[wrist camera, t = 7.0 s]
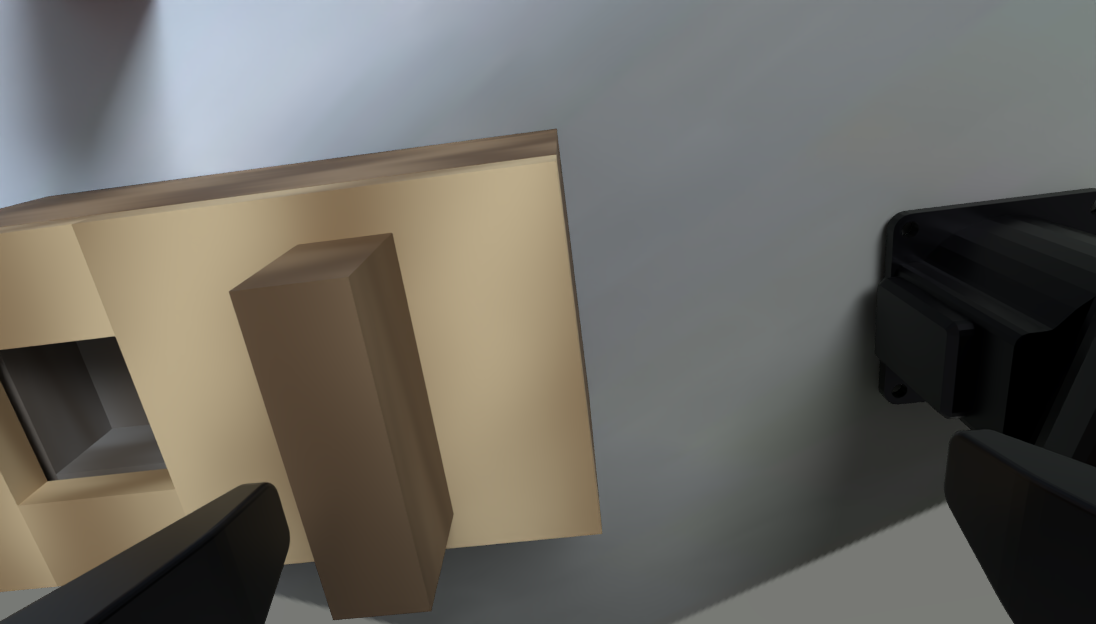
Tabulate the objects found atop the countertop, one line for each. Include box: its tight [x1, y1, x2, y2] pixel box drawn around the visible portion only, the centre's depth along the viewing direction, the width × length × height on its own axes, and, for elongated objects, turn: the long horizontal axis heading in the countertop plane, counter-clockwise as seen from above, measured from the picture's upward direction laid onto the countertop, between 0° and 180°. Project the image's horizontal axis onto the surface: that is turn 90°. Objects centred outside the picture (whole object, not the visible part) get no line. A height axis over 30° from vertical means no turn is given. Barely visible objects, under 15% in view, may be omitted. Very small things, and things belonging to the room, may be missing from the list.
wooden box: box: [0, 129, 599, 497], centre depth 19 cm, size 16×9×6 cm, turn 97°
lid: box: [0, 155, 602, 620], centre depth 14 cm, size 16×9×4 cm, turn 97°
